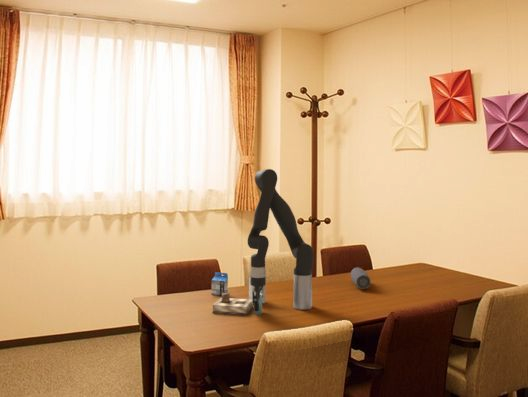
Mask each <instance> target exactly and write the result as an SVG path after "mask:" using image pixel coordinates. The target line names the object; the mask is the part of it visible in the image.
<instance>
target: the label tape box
mask: <svg viewBox="0 0 528 397" xmlns="http://www.w3.org/2000/svg"><path fill="white" fill-rule="evenodd" d="M228 289H229V276H228V273H227V272H218V271H215V272H214V276H213V278H212V279H211V290H210V291H211V295H214V296H221V297H222V293H229V292H228V291H229V290H228Z"/></svg>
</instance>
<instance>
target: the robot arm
mask: <svg viewBox="0 0 528 397" xmlns="http://www.w3.org/2000/svg"><path fill="white" fill-rule="evenodd" d="M254 182H255V184H256V186H257V189H259V192H261V194H260V197H259V200H258V203H257V205H256V208H255V210H254V216H253V224H252V227H251V229H250V231H249V234H248V237H247V245H248V247H249V248H250V249H253V250H257V252H256V253H254V254H253V253H252V255H251V257H250V272H249V273H250V276H249V278H250V284H251V285H252V286H254V287H255V288H254V289H253V292H252V293H253V303H254V304H253V312H254V311H259V299H260V298H261V295H262V298H263V286H265V287H266V284H267V283H266V282H267V281H266V280H267V274H266V272H267V269H266V255H267V252H268V250H269V246H270V244H269V243H270V240H269V239H268V237H267V236H266V235H261V232H263V231H266V230H268V229H267V228H268V225H269V215H270V211H271V214H272V216H273V218H274V220H275V221H276V224H277V225H278V227H279V229H280V230H281V232H282V234H283V235H284V237H285V238H286V241H287V244H288V246H289V249H290V251H291V254H292V256H293V257H294V258H295V259H296V261H295V267H294V268H293V304H292V305H293V308H294V309H296V310H312V308H313V288H312V280H313V279H312V278H313V276H312V275H313V269H314V258H315V257H314V249H313V247H312V245H310V244H308V243H306V242H305V241H304V240H303V237H302V236H301V234H300V232H299V230H298V226H297V220H296V218H295V215H294V213H293V211H292V208H291V207H290V205H289V204H288V202H286V200H284V198H283V197H282V196H281V195H280V194H279V193H278V191H277V189H276V187H277V182H278V174H277V172H276V171H275V170H274V169H271V168H267V169H265V168H264V169H262V170H258V171H257V172H256V173H255V176H254ZM255 299H257V301H255Z"/></svg>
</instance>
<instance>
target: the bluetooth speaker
mask: <svg viewBox="0 0 528 397" xmlns="http://www.w3.org/2000/svg"><path fill="white" fill-rule="evenodd" d="M350 277H351V280H352V282H353V283H354V285H356V287H357V288H358V289H360V290H366V289H368V288H369V287H370V285H371V283H372V281H371V277H370V276H369V274H368V273H367V272H366V271H365V270H364V269H363V268H361V267H359V266H358V267H354V268H353V269H352V270H350Z"/></svg>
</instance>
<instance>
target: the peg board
mask: <svg viewBox="0 0 528 397" xmlns="http://www.w3.org/2000/svg"><path fill="white" fill-rule="evenodd" d="M230 295H231V294H230V292H228V293H222V296H221V297H220V298H219V299H218V300H216V302H214V303H213V304H212V313H213V314H224V315H241V316H247V315H248V314H249V312H250V311H251V310H252V309H254V304H253V300H252V299H249V298H233V297H232V298H231V296H230Z"/></svg>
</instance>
